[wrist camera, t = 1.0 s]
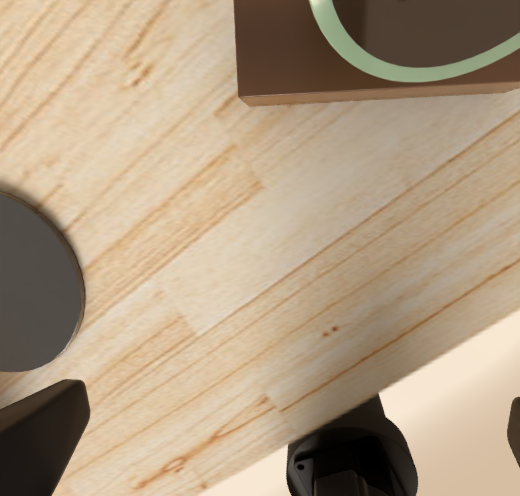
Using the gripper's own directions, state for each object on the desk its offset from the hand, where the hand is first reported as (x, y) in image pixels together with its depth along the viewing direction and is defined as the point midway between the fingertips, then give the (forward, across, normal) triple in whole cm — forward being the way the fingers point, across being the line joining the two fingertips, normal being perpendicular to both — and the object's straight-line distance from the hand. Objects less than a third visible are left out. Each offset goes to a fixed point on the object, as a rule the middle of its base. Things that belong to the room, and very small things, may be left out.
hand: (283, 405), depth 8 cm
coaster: (+13, +19, +2) cm, 23 cm away
